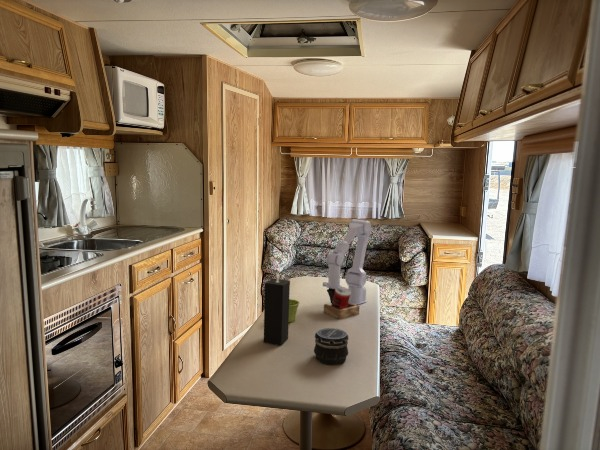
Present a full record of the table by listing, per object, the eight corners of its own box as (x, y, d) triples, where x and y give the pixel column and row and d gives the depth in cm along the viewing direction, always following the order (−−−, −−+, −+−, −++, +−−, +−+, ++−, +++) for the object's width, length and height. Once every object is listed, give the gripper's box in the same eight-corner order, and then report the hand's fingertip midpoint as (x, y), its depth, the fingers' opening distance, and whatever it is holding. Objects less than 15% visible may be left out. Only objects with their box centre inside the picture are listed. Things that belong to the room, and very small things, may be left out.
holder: (342, 307, 222) (342, 300, 222) (359, 314, 213) (359, 306, 213) (323, 312, 214) (323, 304, 213) (340, 319, 205) (340, 311, 205)
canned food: (346, 308, 218) (351, 289, 214) (344, 316, 211) (349, 296, 207) (332, 303, 219) (336, 285, 216) (329, 311, 212) (334, 292, 208)
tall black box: (288, 338, 180) (290, 272, 176) (281, 346, 172) (283, 277, 169) (270, 336, 182) (272, 270, 178) (263, 342, 175) (264, 274, 171)
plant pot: (303, 320, 202) (303, 302, 201) (288, 325, 195) (289, 306, 194) (288, 315, 208) (289, 297, 207) (274, 320, 201) (274, 301, 200)
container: (313, 350, 169) (314, 326, 168) (346, 352, 169) (347, 327, 167) (313, 365, 156) (314, 339, 155) (349, 367, 156) (350, 340, 155)
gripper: (318, 274, 219) (317, 300, 221) (338, 281, 208) (337, 308, 210) (328, 273, 224) (327, 298, 225) (349, 279, 212) (347, 306, 214)
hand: (333, 303), depth 218 cm, fingers closed
